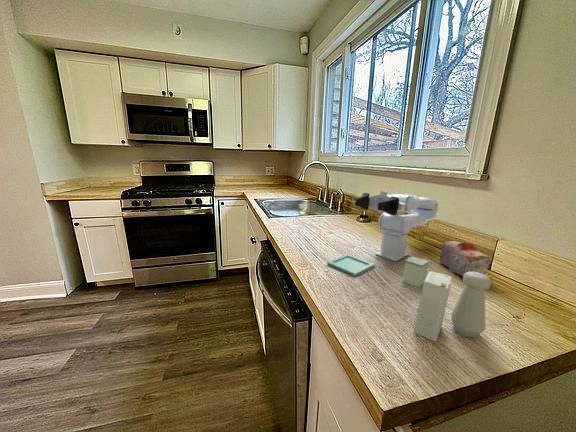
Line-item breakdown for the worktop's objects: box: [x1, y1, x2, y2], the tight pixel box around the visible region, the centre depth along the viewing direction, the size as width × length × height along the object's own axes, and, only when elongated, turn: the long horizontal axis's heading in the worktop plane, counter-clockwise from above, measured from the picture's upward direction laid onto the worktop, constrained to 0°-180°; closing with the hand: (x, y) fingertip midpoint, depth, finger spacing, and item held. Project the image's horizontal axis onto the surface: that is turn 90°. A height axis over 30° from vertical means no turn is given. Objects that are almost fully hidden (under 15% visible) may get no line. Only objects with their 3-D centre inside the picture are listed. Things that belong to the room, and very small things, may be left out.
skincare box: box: [413, 271, 453, 342], centre depth 48 cm, size 6×4×12 cm
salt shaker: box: [450, 272, 492, 339], centre depth 48 cm, size 6×6×13 cm
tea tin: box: [402, 255, 430, 288], centre depth 69 cm, size 5×5×7 cm
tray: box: [326, 253, 376, 278], centre depth 79 cm, size 11×11×1 cm
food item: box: [439, 240, 492, 277], centre depth 75 cm, size 14×8×10 cm, turn 3°
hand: (367, 204), depth 71 cm, fingers open, 7 cm apart
